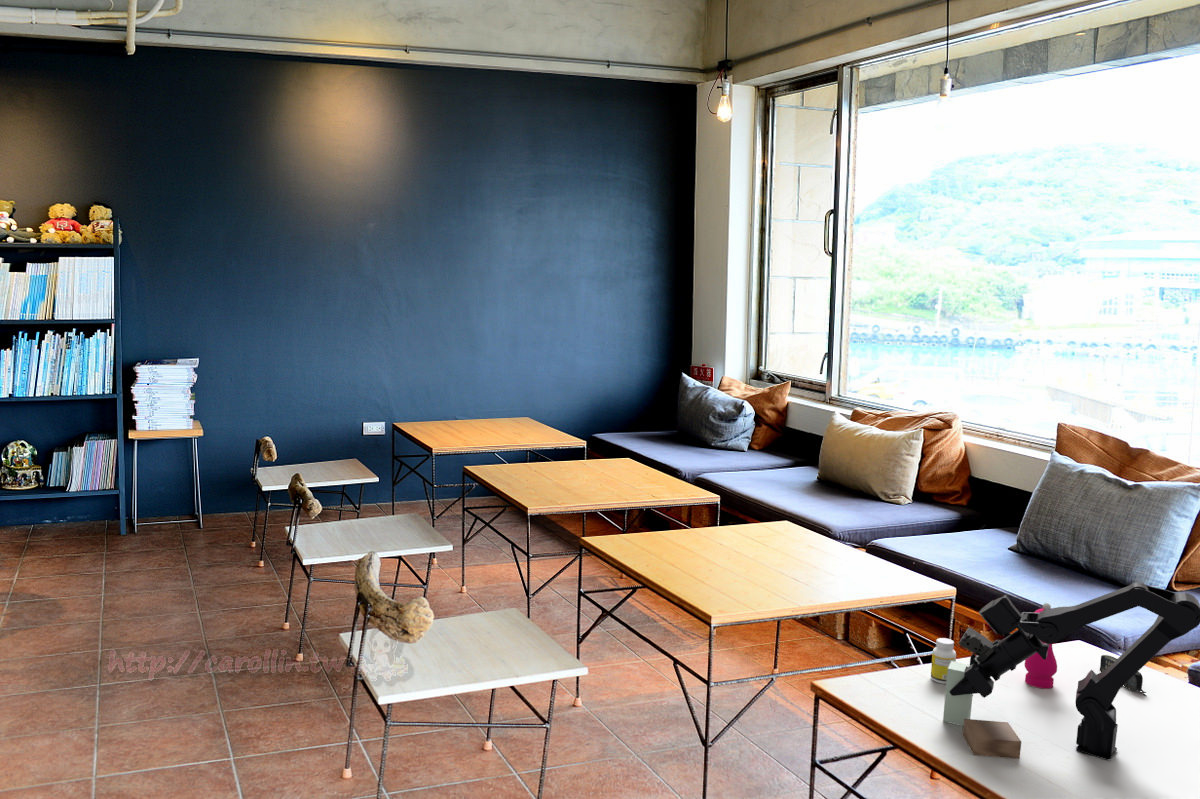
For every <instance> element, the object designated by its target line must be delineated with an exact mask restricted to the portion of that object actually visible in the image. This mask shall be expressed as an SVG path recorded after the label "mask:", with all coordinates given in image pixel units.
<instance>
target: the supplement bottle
mask: <svg viewBox="0 0 1200 799" xmlns="http://www.w3.org/2000/svg"><path fill="white" fill-rule="evenodd" d="M935 641H936V642H935V647H934V648H933V650H932V654H931V655H932V656H931V668H930V679H931V680H932V682H936V683H938V684H944V685H946V682H947V671H948V667H949V665H950V663H951V661H953V662H957V653H956V652H957V651H955V649H954V647H955V645H954V644H955V642H954V640H952V639H950V638H946V637H939V638H937V639H936V640H935Z"/></svg>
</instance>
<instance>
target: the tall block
mask: <svg viewBox="0 0 1200 799" xmlns="http://www.w3.org/2000/svg"><path fill="white" fill-rule="evenodd" d="M966 666H967V667H969V666H970V664H967V663H964V662H963V663H962V662H957V661H956V662H953V661H951V663H950V665H949V667H948V671H947V682H946V684H945V692H944V693H945V694H944V706H943V715H942V716H943V718H942V721H943V722H944V721H945V723H948V722H949V724H953V725H957V724H959V725H958V726H961V725H964V719H971V716H972V703H973V695H974V694H965V695H956V696H952V695H951V694H950V692H949V691H950V690H951V689H952V688H953V687H954V686H955V685H956V684H957V683H958V682H959V681H960V680H961V679H962V678H963V677H964V676H965V674H964V671H965V668H966Z"/></svg>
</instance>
